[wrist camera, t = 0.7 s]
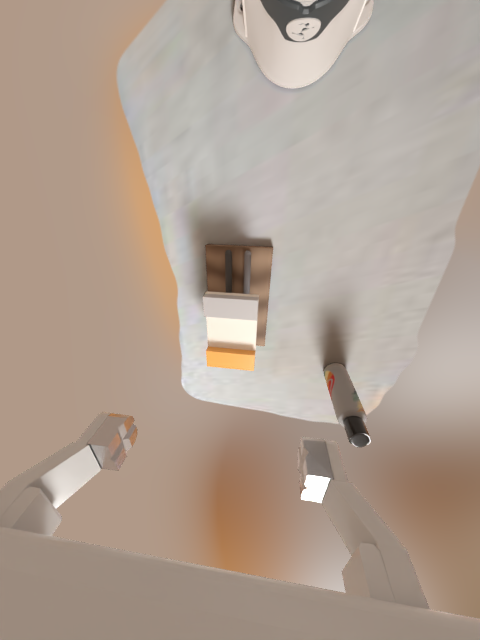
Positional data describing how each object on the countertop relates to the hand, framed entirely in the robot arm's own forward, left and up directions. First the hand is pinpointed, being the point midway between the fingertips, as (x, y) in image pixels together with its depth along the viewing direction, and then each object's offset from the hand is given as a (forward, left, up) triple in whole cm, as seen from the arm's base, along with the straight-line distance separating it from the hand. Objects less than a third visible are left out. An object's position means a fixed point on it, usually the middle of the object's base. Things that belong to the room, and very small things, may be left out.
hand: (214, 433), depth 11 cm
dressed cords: (+6, -4, -40) cm, 41 cm away
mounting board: (+11, -4, -42) cm, 43 cm away
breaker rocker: (+14, -4, -32) cm, 35 cm away
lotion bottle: (+30, +22, -42) cm, 56 cm away
